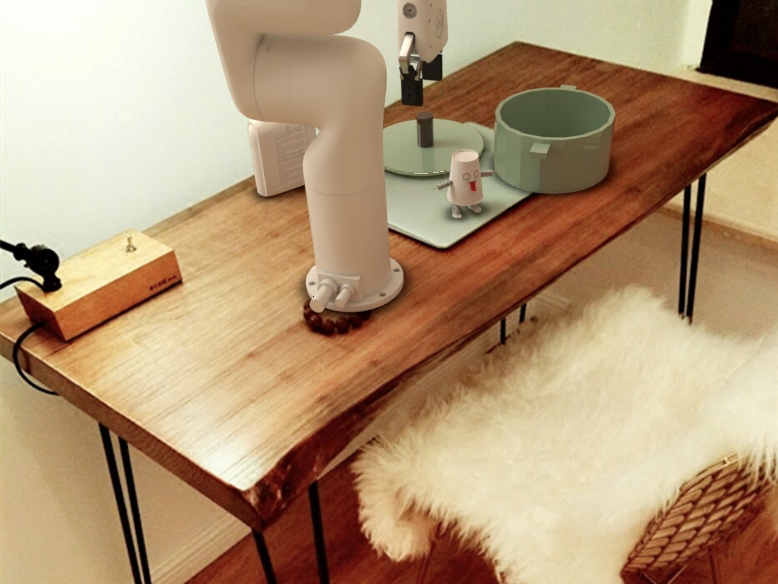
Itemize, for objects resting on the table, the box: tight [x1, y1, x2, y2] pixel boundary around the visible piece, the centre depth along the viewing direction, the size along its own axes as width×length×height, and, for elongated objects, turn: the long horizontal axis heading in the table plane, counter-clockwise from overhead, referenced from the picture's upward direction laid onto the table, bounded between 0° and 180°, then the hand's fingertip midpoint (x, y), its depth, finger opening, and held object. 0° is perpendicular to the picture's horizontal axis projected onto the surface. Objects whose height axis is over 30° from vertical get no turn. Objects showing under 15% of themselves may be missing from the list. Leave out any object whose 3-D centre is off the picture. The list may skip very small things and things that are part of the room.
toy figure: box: [426, 149, 504, 219], centre depth 127 cm, size 12×6×9 cm, turn 114°
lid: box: [383, 111, 485, 177], centre depth 142 cm, size 18×18×6 cm
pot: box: [493, 84, 617, 195], centre depth 136 cm, size 17×23×8 cm
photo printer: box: [246, 119, 317, 198], centre depth 134 cm, size 10×4×12 cm, turn 123°
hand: (422, 92), depth 137 cm, fingers open, 9 cm apart
